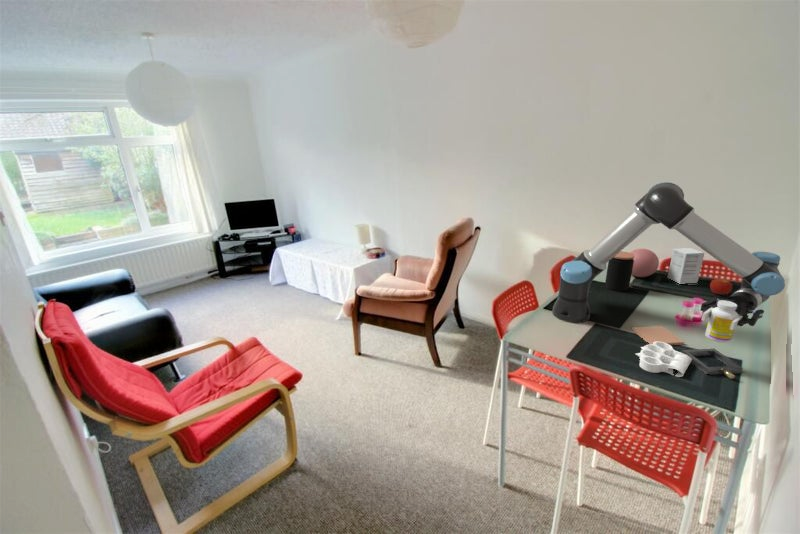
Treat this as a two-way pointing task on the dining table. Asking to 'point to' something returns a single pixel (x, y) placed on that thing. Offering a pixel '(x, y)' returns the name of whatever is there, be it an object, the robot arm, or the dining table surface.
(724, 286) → the apple
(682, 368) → the knuckle duster
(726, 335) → the supplement bottle
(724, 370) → the dark gray square frame
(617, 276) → the coffee jar
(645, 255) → the balloon
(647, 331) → the terracotta tile
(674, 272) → the supplement box
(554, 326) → the dining table surface
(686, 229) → the robot arm
